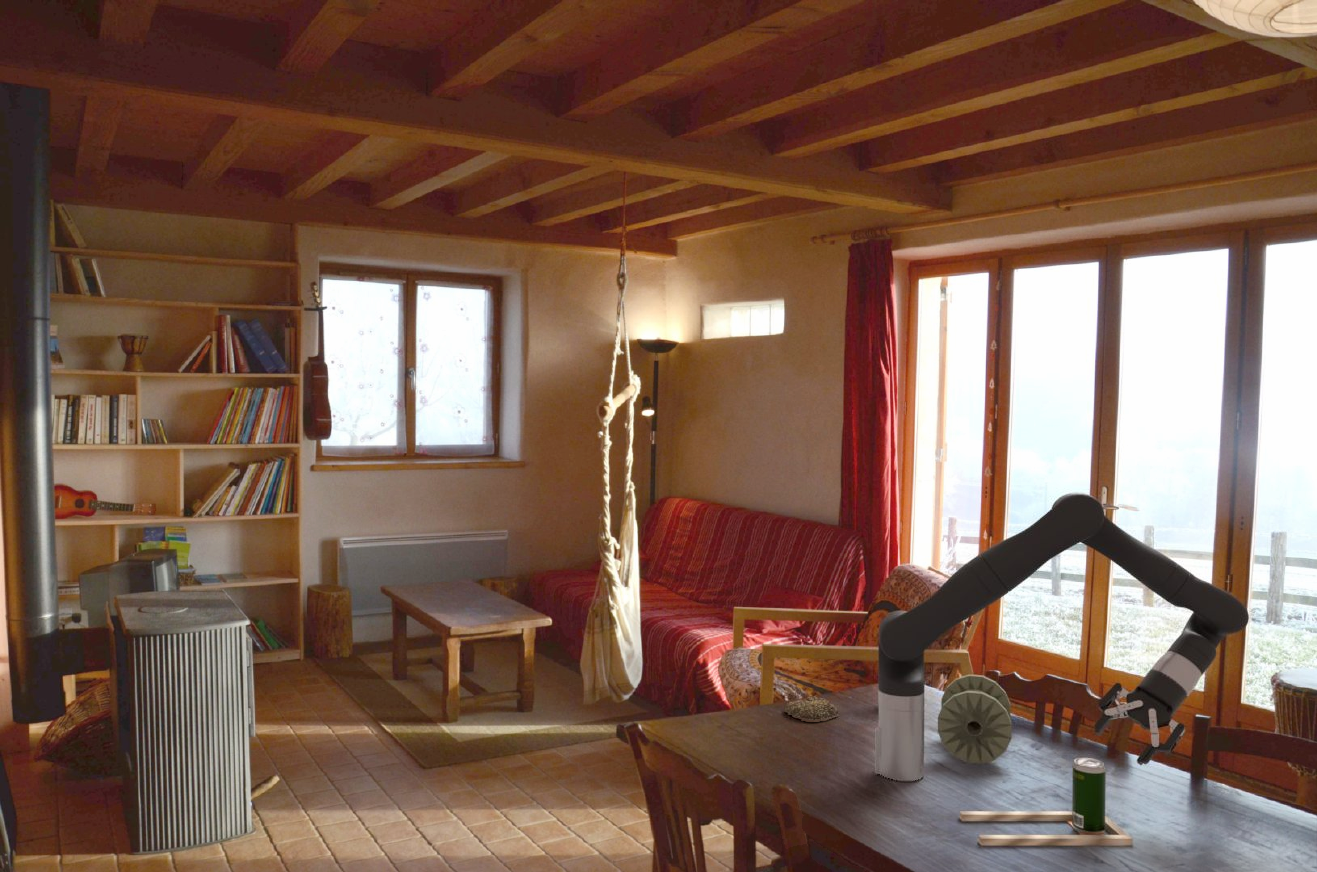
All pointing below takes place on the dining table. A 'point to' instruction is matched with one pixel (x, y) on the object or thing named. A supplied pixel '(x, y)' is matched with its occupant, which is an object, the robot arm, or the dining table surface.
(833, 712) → the speckled domed shell
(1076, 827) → the beer can
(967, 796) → the dining table surface
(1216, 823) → the dining table surface
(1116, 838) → the frame
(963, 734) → the spool
